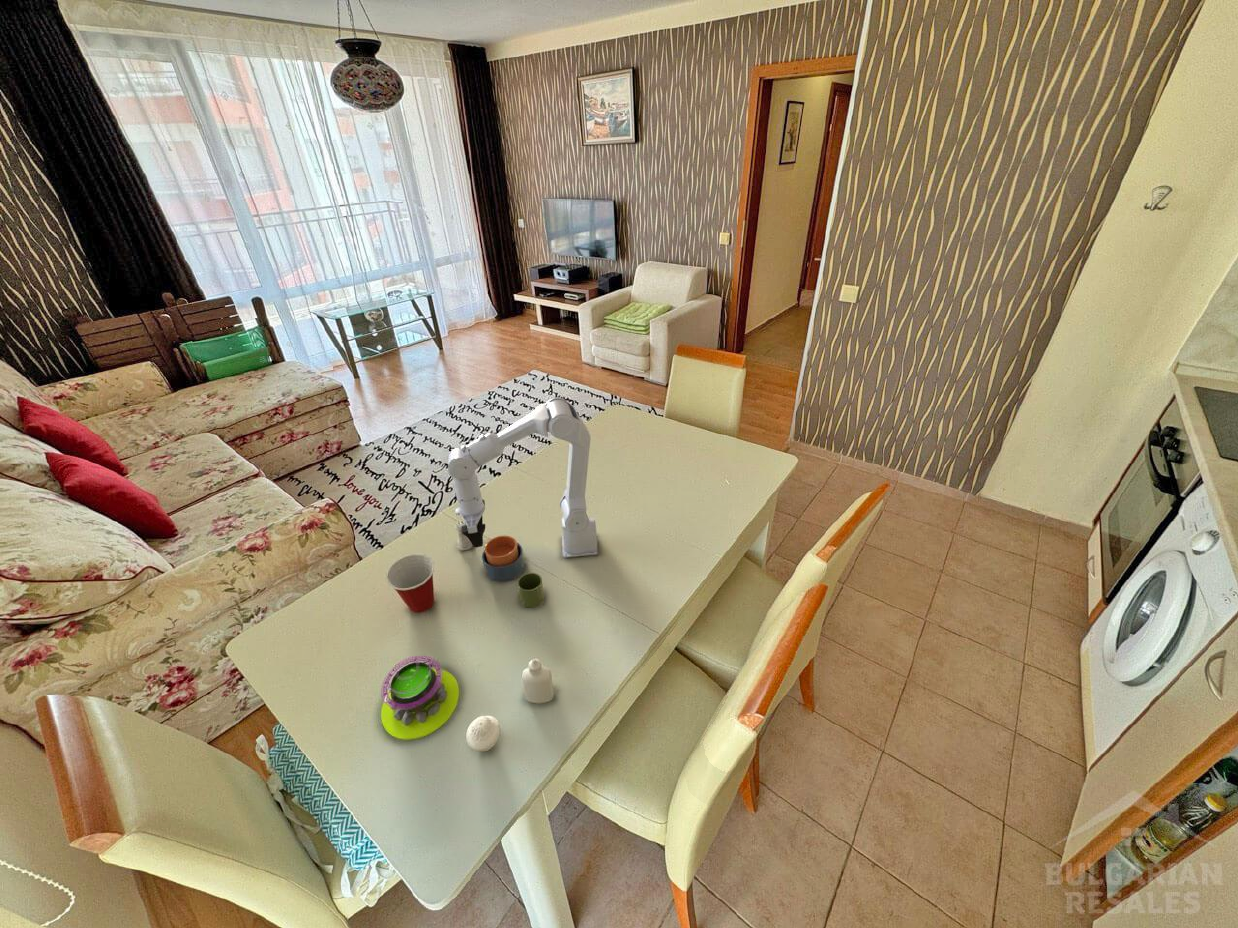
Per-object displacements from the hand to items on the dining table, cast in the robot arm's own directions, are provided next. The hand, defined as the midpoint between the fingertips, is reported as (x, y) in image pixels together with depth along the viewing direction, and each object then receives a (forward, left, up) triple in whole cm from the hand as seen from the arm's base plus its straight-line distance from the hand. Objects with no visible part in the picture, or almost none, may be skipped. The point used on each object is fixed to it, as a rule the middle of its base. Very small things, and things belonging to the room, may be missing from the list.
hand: (478, 536), depth 125 cm
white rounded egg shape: (-5, +48, -10) cm, 49 cm away
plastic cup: (+14, +12, -10) cm, 21 cm away
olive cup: (-13, +14, -10) cm, 21 cm away
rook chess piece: (+6, -8, -10) cm, 14 cm away
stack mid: (-6, +2, -10) cm, 12 cm away
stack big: (-6, +2, -10) cm, 12 cm away
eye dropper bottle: (-15, +40, -10) cm, 44 cm away
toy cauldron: (+9, +38, -10) cm, 40 cm away
